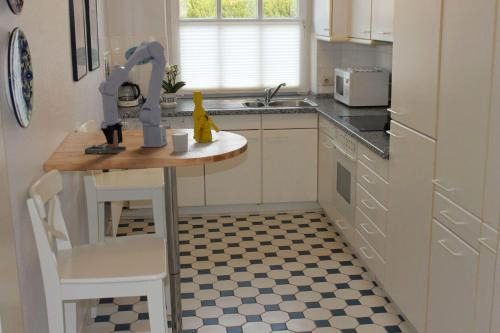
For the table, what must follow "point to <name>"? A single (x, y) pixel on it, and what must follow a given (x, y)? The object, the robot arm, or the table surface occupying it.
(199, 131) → the figure statuette
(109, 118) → the robot arm
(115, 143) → the jar
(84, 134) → the table surface
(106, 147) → the pusher plate
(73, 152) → the table surface
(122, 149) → the frame
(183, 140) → the beige cylinder
